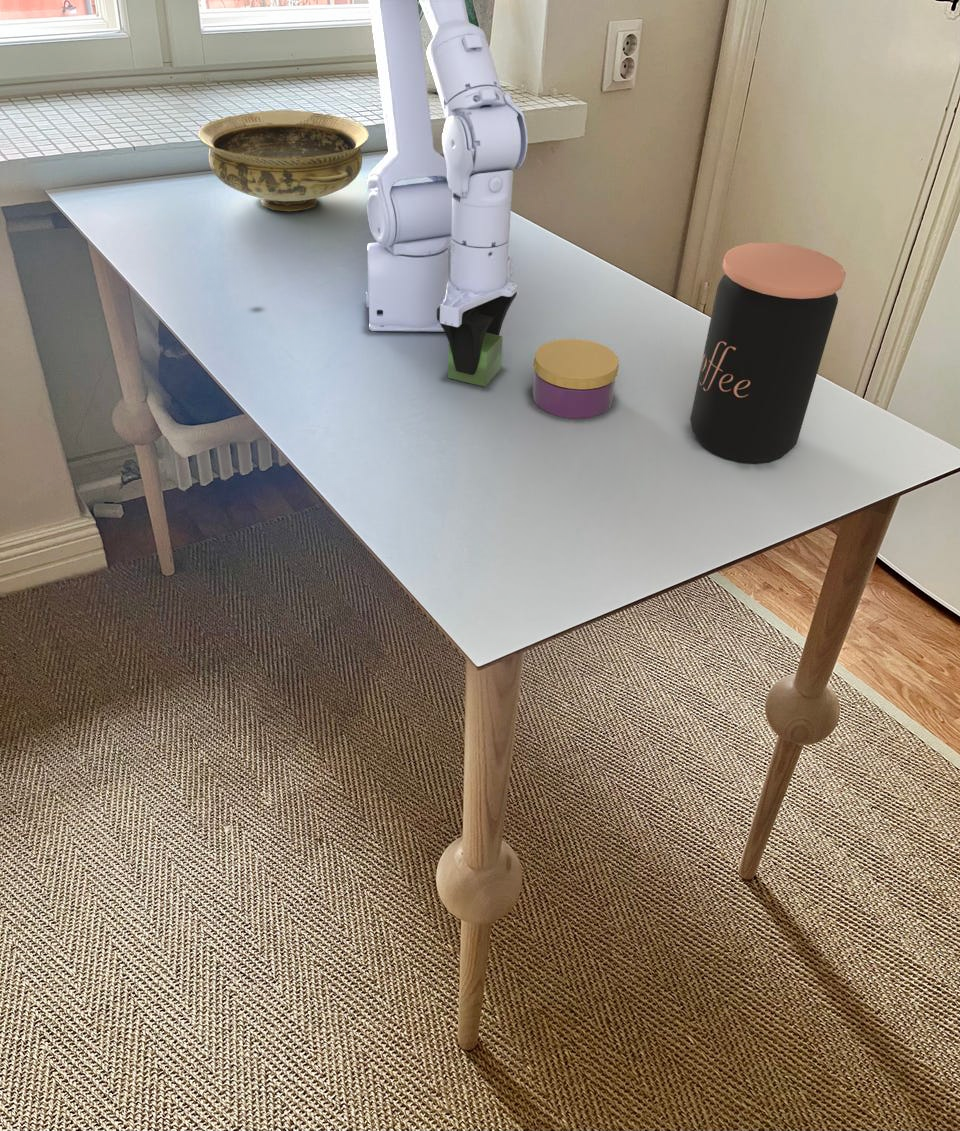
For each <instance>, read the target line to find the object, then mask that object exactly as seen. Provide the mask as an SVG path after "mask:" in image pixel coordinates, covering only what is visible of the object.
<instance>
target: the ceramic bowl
mask: <svg viewBox="0 0 960 1131" xmlns="http://www.w3.org/2000/svg"><path fill="white" fill-rule="evenodd" d="M197 134H198V139H199V140H200V141H201V142H202V144H204V145H205V146H206V147H207V148H209V149H208V163H209V166H210V169H211V171H212V173H213V174H214V175H215V176H216V178H217V179H218V180H220V181H221V182H222V183H223V184H225V185H226V186H228V187H230V188H232V189H233V190H235V191H238V192H240V193H243V194H246V195H247V196H252V197H255V198H258V199H261V200H260V201H261V205H262V206H264V207H265V208H268V209H271V210H276V211H280V212H282V211H283V212H296V211H297V212H298V211H304V210H308V209H310V208H313V207H315V206H316V205H317V203H318V201H317V199H318V198H322V197H325V196H328V195H331V194H334V193H337V192H338V191H340V190H343V189H344V188H346V187H347V186H349V185H350V184H351V183H352V182H353V181H354V180H356V178H357V177H358V176H359V174H360V172H361V170H362V167H363V154H362V149H361V148H362V147H363V146H364V145H365V144H366V143H367V141H368V139H369V137H370V133H369V131H368V129H367V128H366V127H365V126H364V125H362V124H361V123H358V122H357V121H355V120H351V119H349V118H345V117H341V116H339V115H338V116H337V115H333V114H325V113H320V112H312V111H306V110H291V109H282V110H281V109H279V110H264V111H255V112H249V113H242V114H235V115H230V116H225V117H221V118H218V119H215V120H212V121H210V122H208V123H206V124H204V125H202V127H200V129H199V130H198V133H197Z"/></svg>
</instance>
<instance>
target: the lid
mask: <svg viewBox="0 0 960 1131" xmlns="http://www.w3.org/2000/svg"><path fill="white" fill-rule="evenodd" d="M619 361H620V360H619V357H618V355H617V354H616V353H615V352H614V350H612V349H611V348H609V347H608V346H605V345H604V344H601V343H599V342H595V341H592V340H591V341H590V340H587V339H579V338H562V339H554V340H550V341H548V342H545V343H543V344H542V345H539V347H538V348H537V349H536V350H535V352H534V358H533V362H532V367H533V372H534V371H535V372H536V373H537V375H538V376H539V377H541V378H542V379H543V380H545V381H547V382H549V383H551V384H553V385H556V386H559V387H564V388H569V389H594V388H599V387H602V386H605V385H607V384H609V383H611V382H612V381H613V380H614V379H615V380H616V378H617V377H618V373H619V367H620V364H619V363H620V362H619Z"/></svg>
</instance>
